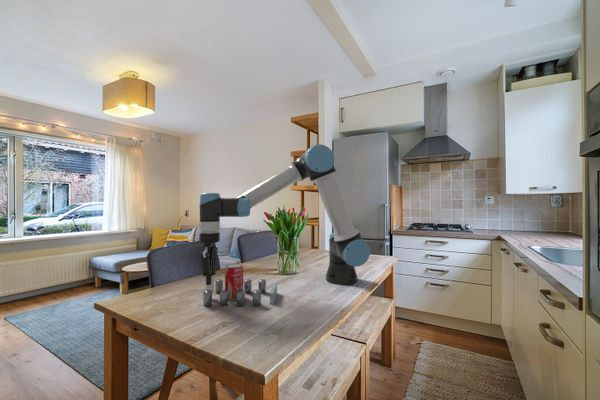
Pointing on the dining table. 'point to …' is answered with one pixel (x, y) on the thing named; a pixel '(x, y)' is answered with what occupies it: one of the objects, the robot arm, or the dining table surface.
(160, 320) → the dining table surface
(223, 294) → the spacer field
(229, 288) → the soda can
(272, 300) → the stop rail
